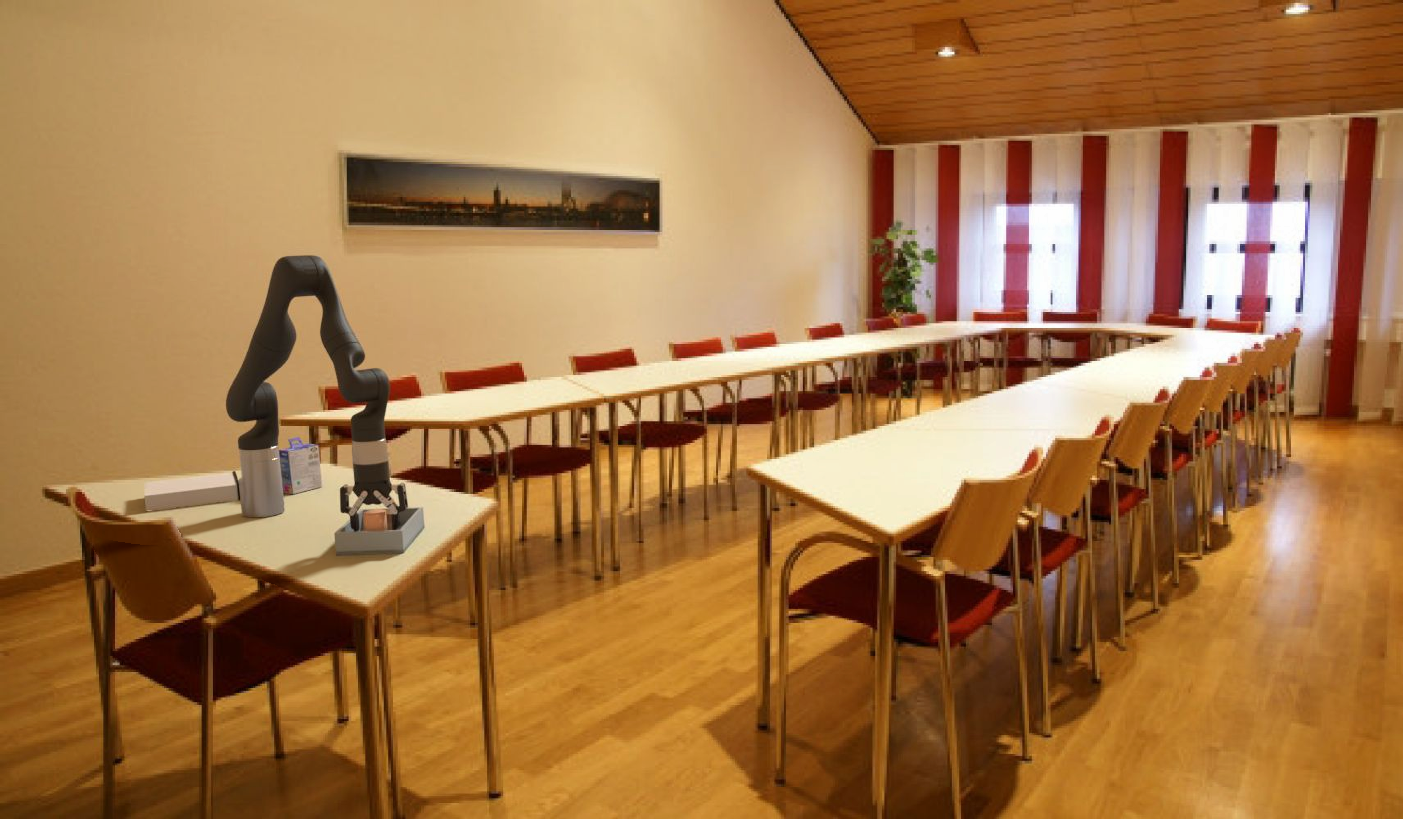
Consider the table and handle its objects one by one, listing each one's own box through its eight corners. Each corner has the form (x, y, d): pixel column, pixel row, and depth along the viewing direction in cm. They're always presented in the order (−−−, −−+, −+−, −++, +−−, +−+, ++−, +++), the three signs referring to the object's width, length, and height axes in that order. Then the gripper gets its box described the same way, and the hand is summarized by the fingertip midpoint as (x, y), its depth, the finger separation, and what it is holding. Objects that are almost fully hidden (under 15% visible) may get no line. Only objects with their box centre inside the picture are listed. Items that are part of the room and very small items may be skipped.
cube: (372, 536, 230) (370, 514, 229) (378, 529, 235) (376, 509, 234) (394, 535, 230) (392, 514, 230) (399, 529, 235) (398, 508, 235)
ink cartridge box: (311, 485, 284) (306, 434, 282) (323, 487, 282) (319, 436, 279) (280, 492, 276) (275, 441, 274) (293, 495, 273) (288, 442, 271)
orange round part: (362, 546, 222) (359, 515, 221) (368, 539, 227) (366, 509, 226) (385, 545, 223) (382, 515, 221) (391, 538, 227) (388, 509, 226)
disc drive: (241, 501, 269) (239, 483, 269) (146, 513, 259) (144, 494, 258) (237, 488, 285) (235, 470, 284) (147, 499, 275) (145, 481, 274)
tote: (336, 555, 219) (334, 533, 218) (362, 529, 238) (360, 509, 238) (403, 553, 220) (402, 530, 219) (424, 527, 239) (423, 507, 238)
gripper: (332, 464, 218) (338, 536, 220) (398, 462, 218) (404, 534, 221) (343, 456, 225) (349, 526, 228) (407, 454, 226) (412, 524, 228)
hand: (376, 530), depth 224 cm, fingers open, 8 cm apart
